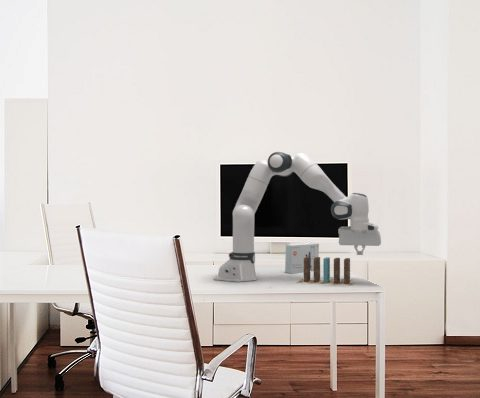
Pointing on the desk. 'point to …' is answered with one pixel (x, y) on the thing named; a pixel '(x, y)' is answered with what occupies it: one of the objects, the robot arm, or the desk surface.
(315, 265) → the tile
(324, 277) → the tile
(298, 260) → the skincare box
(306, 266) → the dark wood plank
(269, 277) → the desk surface
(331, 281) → the oak board
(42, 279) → the desk surface
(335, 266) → the tile
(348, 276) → the tile
